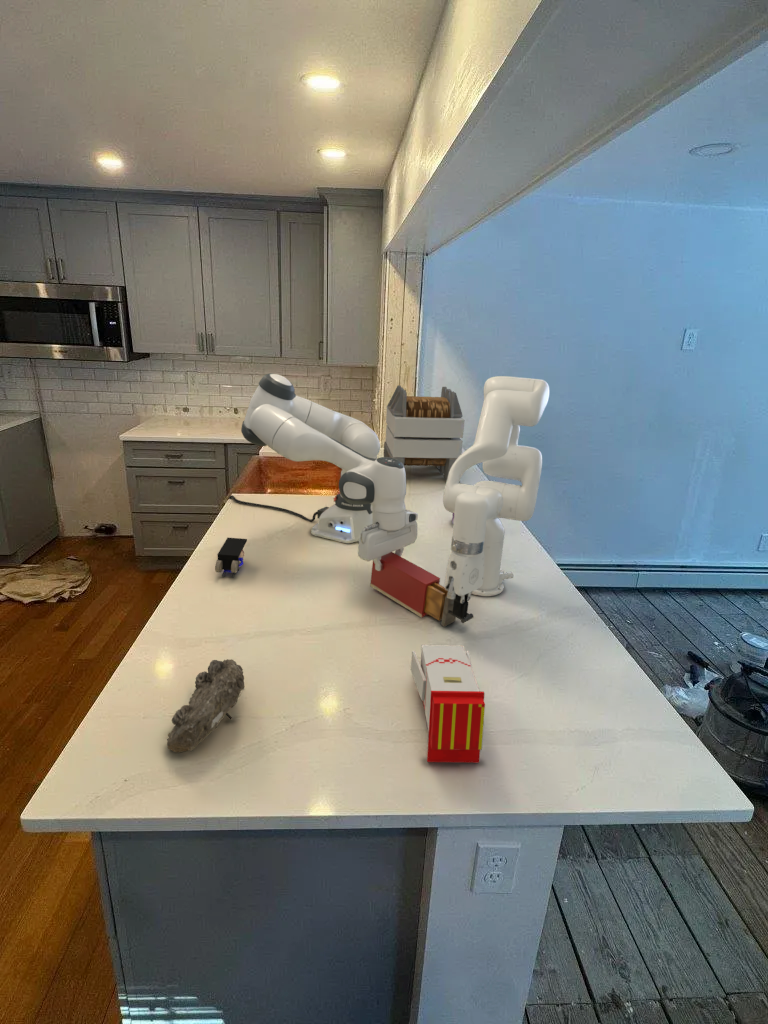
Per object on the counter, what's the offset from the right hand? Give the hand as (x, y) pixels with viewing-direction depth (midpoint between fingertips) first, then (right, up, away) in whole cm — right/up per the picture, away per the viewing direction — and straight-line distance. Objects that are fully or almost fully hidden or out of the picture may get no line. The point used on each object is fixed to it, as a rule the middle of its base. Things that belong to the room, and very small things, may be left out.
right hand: (459, 614), depth 139 cm
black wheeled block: (-63, +8, +28) cm, 70 cm away
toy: (-7, -14, -27) cm, 31 cm away
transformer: (-1, +44, +136) cm, 143 cm away
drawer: (-6, -1, +8) cm, 11 cm away
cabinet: (-14, +2, +15) cm, 21 cm away
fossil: (-51, -14, -31) cm, 62 cm away
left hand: (-17, +10, +17) cm, 26 cm away
